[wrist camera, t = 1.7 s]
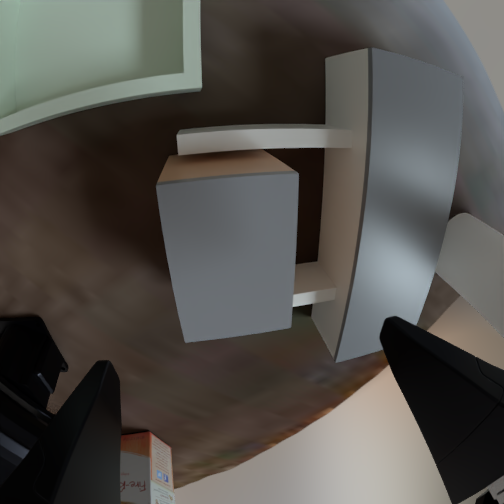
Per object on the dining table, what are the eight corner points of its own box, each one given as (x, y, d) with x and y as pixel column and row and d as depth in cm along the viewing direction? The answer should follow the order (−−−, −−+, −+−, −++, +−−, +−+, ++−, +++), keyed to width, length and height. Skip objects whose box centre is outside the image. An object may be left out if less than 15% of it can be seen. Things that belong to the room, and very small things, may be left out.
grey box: (184, 270, 20) (185, 342, 14) (169, 155, 17) (155, 185, 10) (261, 261, 21) (290, 327, 15) (260, 147, 17) (298, 173, 11)
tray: (13, 131, 13) (-17, 141, 10) (21, -26, 7) (-3, -40, 4) (200, 91, 15) (202, 87, 12) (199, -72, 9) (203, -100, 6)
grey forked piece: (409, 74, 16) (463, 76, 12) (379, 302, 26) (409, 340, 21) (176, 57, 14) (169, 36, 9) (204, 333, 23) (211, 386, 19)
